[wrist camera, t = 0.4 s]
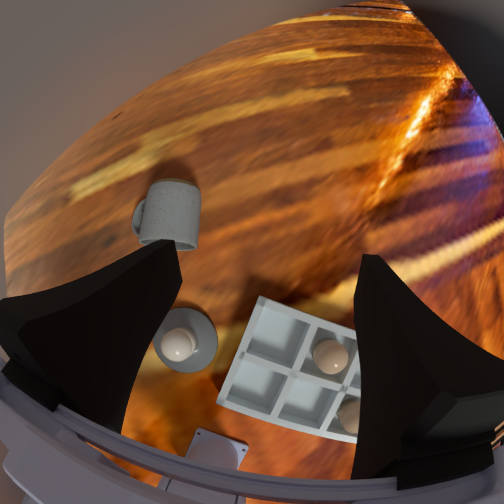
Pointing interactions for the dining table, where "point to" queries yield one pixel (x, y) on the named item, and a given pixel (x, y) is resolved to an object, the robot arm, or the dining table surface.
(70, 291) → the robot arm
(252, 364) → the egg carton
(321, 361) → the brown egg
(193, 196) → the ceramic mug
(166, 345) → the cream egg
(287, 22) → the dining table surface
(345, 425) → the brown egg
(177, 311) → the grey round disc
